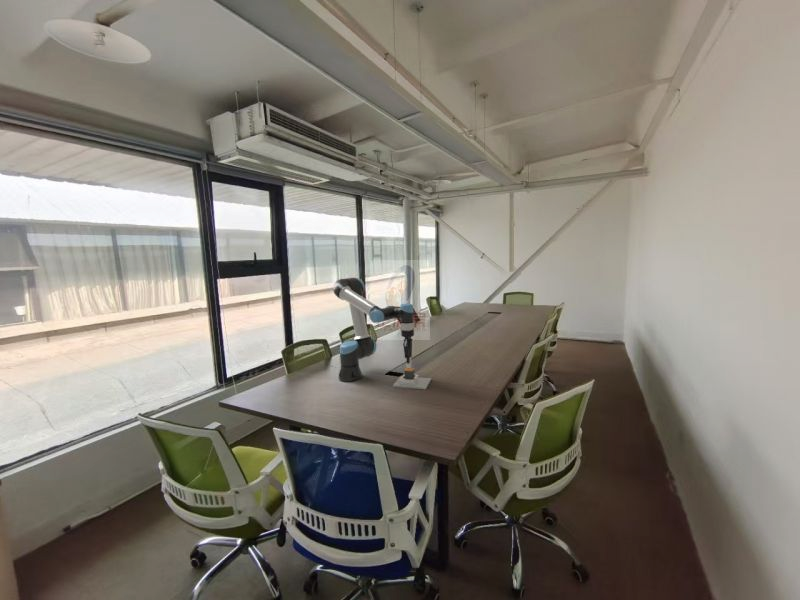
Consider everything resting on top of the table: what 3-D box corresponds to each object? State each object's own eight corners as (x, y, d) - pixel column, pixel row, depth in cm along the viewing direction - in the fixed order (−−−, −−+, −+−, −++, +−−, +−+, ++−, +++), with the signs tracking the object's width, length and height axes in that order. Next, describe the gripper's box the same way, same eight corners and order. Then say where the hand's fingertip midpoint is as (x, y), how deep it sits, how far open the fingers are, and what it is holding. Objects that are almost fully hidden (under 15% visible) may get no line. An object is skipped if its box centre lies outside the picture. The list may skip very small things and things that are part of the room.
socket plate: (392, 386, 199) (392, 380, 198) (400, 377, 214) (400, 371, 213) (425, 389, 193) (425, 382, 192) (431, 379, 208) (431, 373, 208)
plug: (404, 382, 203) (404, 369, 202) (406, 380, 206) (406, 367, 205) (412, 382, 201) (412, 370, 200) (414, 380, 205) (413, 367, 204)
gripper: (410, 332, 193) (412, 371, 196) (416, 327, 205) (417, 364, 208) (398, 331, 195) (399, 370, 198) (404, 327, 207) (405, 364, 210)
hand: (408, 367), depth 203 cm, fingers closed
